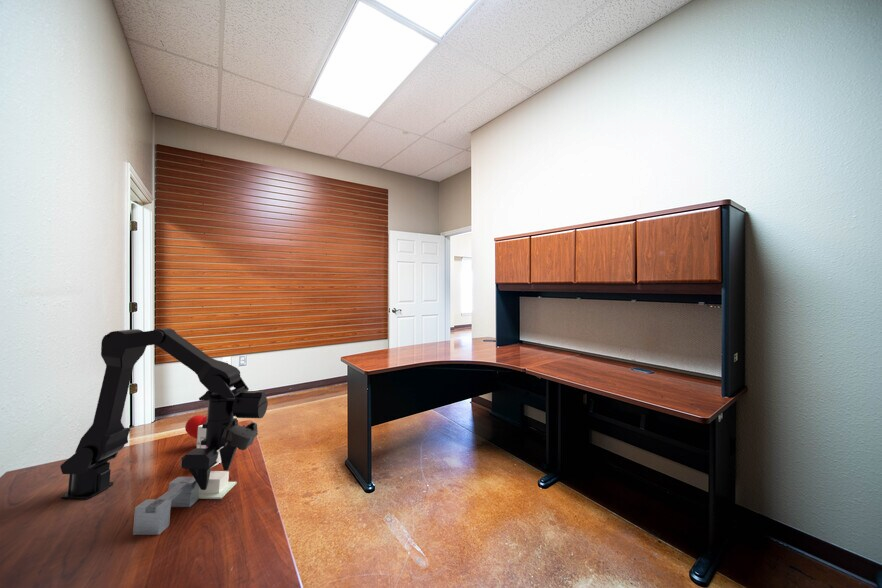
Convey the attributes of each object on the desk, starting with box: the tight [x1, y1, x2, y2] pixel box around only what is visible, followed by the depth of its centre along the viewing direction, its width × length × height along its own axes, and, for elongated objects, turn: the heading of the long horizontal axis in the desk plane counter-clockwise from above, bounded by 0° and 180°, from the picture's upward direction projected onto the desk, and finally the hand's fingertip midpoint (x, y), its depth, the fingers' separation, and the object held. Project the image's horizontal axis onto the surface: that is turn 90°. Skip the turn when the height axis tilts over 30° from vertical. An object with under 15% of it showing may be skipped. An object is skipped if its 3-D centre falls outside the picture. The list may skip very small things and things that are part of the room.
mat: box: [198, 481, 238, 500], centre depth 82 cm, size 7×7×1 cm
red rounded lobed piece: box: [184, 414, 207, 446], centre depth 106 cm, size 9×7×10 cm
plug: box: [199, 470, 230, 493], centre depth 82 cm, size 9×4×3 cm, turn 95°
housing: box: [132, 476, 199, 536], centre depth 72 cm, size 5×12×5 cm, turn 4°
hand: (215, 479), depth 83 cm, fingers open, 9 cm apart
